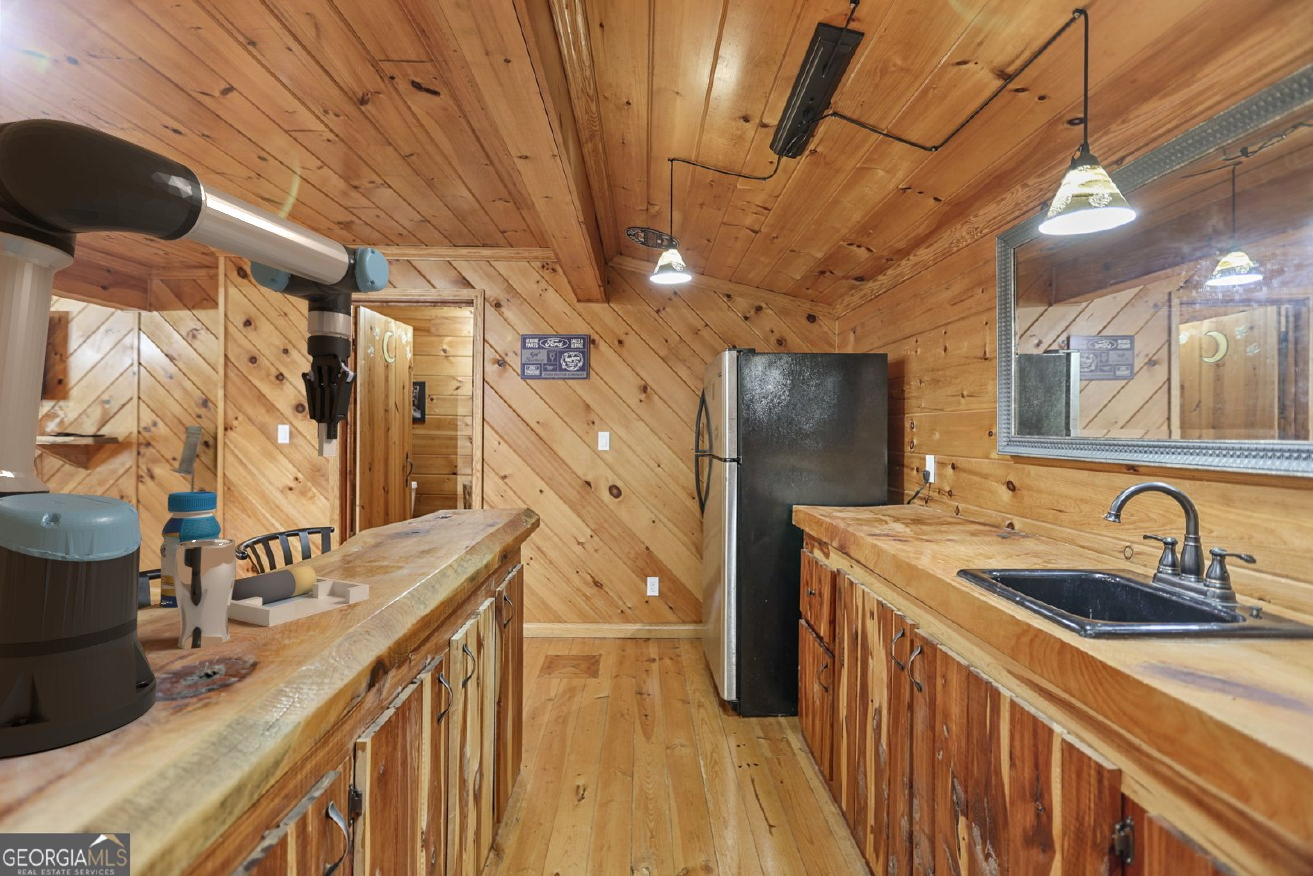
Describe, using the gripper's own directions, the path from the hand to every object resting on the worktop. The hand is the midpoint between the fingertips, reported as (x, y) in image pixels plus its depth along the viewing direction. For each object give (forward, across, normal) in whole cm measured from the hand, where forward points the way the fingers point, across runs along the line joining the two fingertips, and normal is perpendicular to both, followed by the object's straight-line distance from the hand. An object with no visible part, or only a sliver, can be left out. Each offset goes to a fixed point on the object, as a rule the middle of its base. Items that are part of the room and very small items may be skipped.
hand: (327, 456), depth 115 cm
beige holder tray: (+26, -7, +12) cm, 30 cm away
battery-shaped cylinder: (+25, -3, +12) cm, 28 cm away
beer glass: (+27, -14, +29) cm, 42 cm away
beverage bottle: (+27, +10, +18) cm, 34 cm away
